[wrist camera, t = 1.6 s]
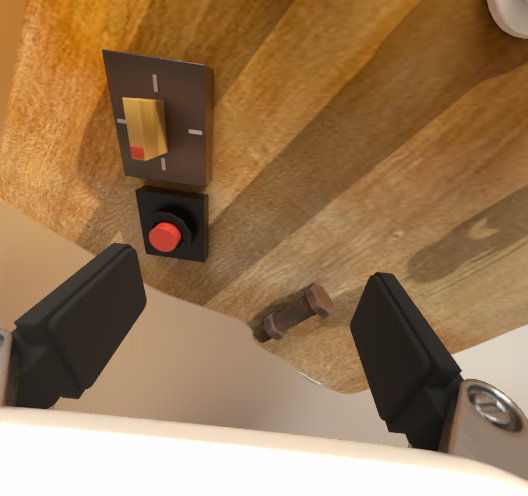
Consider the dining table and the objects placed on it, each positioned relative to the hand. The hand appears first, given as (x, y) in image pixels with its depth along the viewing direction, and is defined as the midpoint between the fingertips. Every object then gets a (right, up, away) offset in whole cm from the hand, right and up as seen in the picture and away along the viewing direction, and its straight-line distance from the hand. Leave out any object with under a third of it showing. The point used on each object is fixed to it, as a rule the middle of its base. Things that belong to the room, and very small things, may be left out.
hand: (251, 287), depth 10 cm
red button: (-12, +4, +22) cm, 26 cm away
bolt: (+5, -9, +33) cm, 34 cm away
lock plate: (-11, +16, +18) cm, 27 cm away
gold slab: (-11, +15, +16) cm, 24 cm away
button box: (-12, +5, +25) cm, 28 cm away
